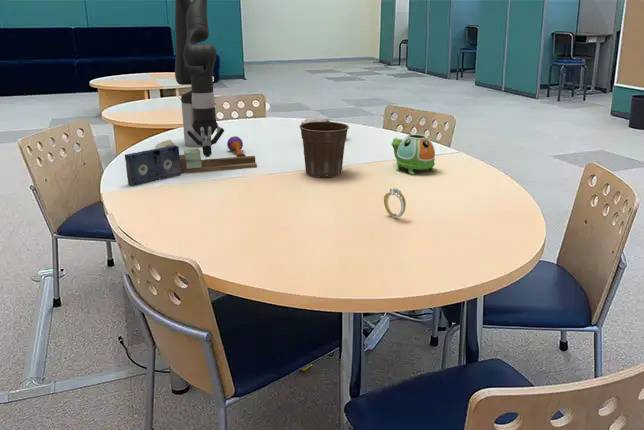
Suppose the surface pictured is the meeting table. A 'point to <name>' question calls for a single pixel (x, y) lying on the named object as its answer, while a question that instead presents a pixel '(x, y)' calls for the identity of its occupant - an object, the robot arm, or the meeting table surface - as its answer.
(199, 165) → the keeper
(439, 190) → the meeting table surface
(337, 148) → the plant pot
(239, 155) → the kendama
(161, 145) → the fossil replica
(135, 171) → the vhs cassette tape
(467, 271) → the meeting table surface
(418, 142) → the turtle holder
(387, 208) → the ring
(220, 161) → the rail
